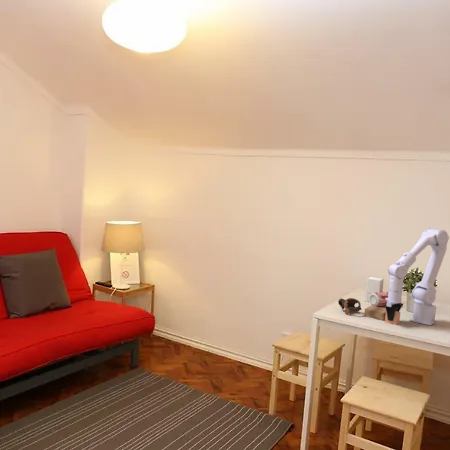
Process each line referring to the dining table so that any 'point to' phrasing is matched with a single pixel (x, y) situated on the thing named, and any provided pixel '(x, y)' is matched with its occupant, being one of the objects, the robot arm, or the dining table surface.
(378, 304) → the soda can
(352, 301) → the pottery mug
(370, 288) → the supplement box
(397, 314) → the terracotta block
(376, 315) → the light tan wooden block
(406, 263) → the robot arm
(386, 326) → the dining table surface
